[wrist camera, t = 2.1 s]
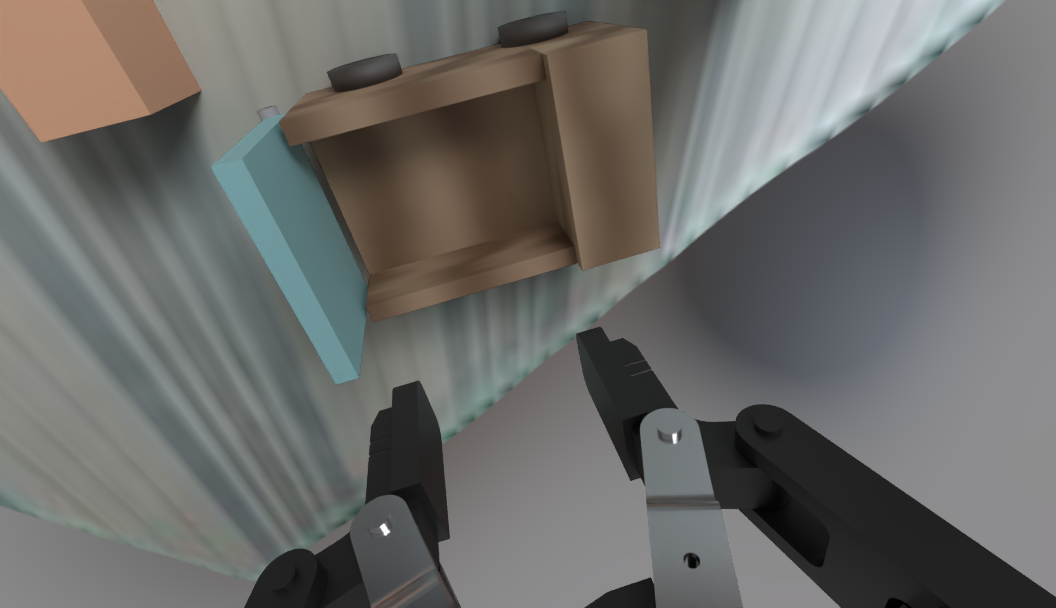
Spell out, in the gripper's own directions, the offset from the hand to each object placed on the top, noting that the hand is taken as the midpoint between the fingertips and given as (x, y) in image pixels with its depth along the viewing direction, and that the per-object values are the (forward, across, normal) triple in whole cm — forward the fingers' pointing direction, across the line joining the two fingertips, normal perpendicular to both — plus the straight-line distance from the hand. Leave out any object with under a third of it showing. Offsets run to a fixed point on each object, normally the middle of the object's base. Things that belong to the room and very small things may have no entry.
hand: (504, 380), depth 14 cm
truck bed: (+23, -2, 0) cm, 23 cm away
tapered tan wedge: (+23, +15, -11) cm, 30 cm away
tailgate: (+19, +8, 0) cm, 21 cm away
